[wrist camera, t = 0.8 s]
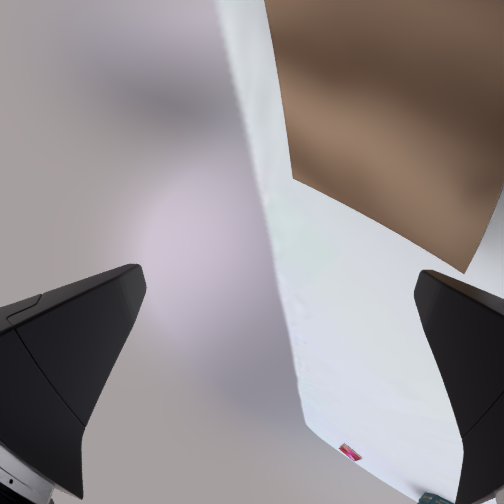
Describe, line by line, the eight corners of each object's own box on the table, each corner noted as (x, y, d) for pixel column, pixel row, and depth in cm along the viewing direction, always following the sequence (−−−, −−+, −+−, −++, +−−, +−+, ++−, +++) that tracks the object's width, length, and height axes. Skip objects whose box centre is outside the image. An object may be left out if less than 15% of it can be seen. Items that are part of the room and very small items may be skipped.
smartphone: (362, 459, 70) (354, 461, 82) (364, 456, 71) (356, 459, 82) (343, 444, 75) (338, 448, 86) (345, 441, 75) (340, 446, 86)
